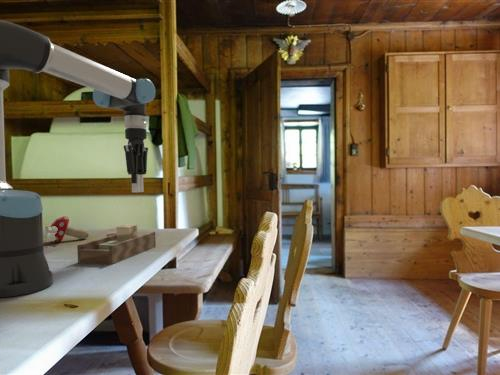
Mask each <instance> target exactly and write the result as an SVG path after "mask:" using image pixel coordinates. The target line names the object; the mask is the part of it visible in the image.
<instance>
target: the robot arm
mask: <svg viewBox="0 0 500 375" xmlns="http://www.w3.org/2000/svg"><path fill="white" fill-rule="evenodd" d="M10 70H26V71H29V72H32V73H35V74H39V73H41V72H43V73H47V74H50V75H53V76H55V77H58V78H61V79H64V80H67V81H70V82H73V83H75V84H78V85H80V86H83V87H87V88H89V89H93V91H92V100H93V102H94V104H95V105H96V106H97V107H101V108H104V109H112V110H119V111H123V112H124V127H125V129H124V130H125V131H124V135H125V136H124V137H125V139H126V140H128V141H127V145H123V150H124V153H125V154H124V155H125V163H126V164H125V165H126V173H128V174H127V175H131V178H130V180H131V193H144V192H145V190H144V187H145V186H144V175H146V174H147V171H148V170H147V168H148V167H147V165H148V150H149V147H146V146H145V142H144V140H146V139H147V129H146V127H147V117H146V116H147V115H146V114H147V106H146V104H147V103H150V102H152V101H154V99H155V97H156V87H155V85H154V83H153V82H152V81H151V80H150V79H148V78H138V79H137V78H136V79H135V78H134V77H130V76H129V75H126V74H123V73H122V72H119V71H116V70H115V69H112V68H110V67H108V66H105V65H103V64H101V63H98V62H96V61H93V60H92V59H89V58H87V57H85V56H83V55H80V54H78V53H77V52H73V51H71V50H69V49H66V48H65V47H62V46H60V45H57V44H55V43H52V42H51V40H50V38H49V37H48V36H46V35H44V34H42V33H39V32H38V31H35V30H32V29H30V28H27V27H25V26H22V25H19V24H17V23H14V22H10V21H7V20H3V19H0V298H9V297H11V298H12V297H17V296H23V295H27V294H31V293H36V292H38V291H42V290H44V289H47V288H49V287H50V286H52V285H53V283H54V275H53V272H52V270H50V267H49V264H48V260H47V258H46V255H45V252H44V250H45V248H44V228H43V225H44V224H43V209H44V208H43V205H42V203H43V202H42V197H41V196H40V194H39V193H37V192H35V191H29V190H19V189H14V187H13V186H11V185H10V184H9V183H8V182H7V179H6V178H7V177H6V144H5V143H6V140H5V115H4V114H5V113H4V112H5V110H4V91H5V90H6V89H7V88H8V87H10Z"/></svg>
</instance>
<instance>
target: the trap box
mask: <svg viewBox="0 0 500 375" xmlns="http://www.w3.org/2000/svg"><path fill="white" fill-rule="evenodd" d="M76 247H77V263H78V264H95V265H98V264H99V265H114V264H117V263H119V262H122V261H124V260H126V259H130V258H132V257H135V256H136V255H139V254H141V253H144V252H147V251H149V250H151V249H154V248H156V247H157V245H156V231H152V232H149V233H146V234H142V235H138V237H136V238H133V239H129V240H126V241H117V234H116V235H112V236H109V237H107V236H106V237H101V238H98V239H95V240H92V241H87V242H84V243H80V244H77V246H76Z"/></svg>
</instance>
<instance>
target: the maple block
mask: <svg viewBox="0 0 500 375" xmlns="http://www.w3.org/2000/svg"><path fill="white" fill-rule="evenodd" d="M115 228H117V241H126V240H129V239H133V238H136V237H139V235H138V224H122V225H118V226H116V227H115Z"/></svg>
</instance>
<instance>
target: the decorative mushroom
mask: <svg viewBox="0 0 500 375" xmlns="http://www.w3.org/2000/svg"><path fill="white" fill-rule="evenodd" d="M69 222H70V219H69V217H68V216H65V215H64V216H61V217H58V218H56V219H55V220H54V221H53V222H52V223H51V225H50V227H52V226H56V227H57V228H58V231H57V233H56V234H55V237H56V241H55V242H56V243H61V242H62V241H63V239H64V238H65V235H66V236H70V237H74V238H76V239H79V240H82V239H83V240H86V239H87V238H89V232H88V230H87V229H85V228H76V227H73V226H69V224H70V223H69Z"/></svg>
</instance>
